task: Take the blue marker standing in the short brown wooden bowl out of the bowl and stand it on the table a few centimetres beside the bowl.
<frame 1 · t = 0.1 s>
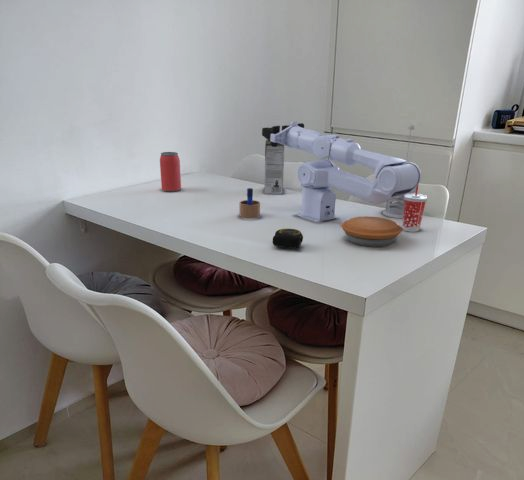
hand: (272, 130, 161), 22 cm above the table, tool horizontal, fingers open, 7 cm apart
tape measure: (288, 248, 133), on the table
beer can: (171, 190, 185), on the table
french press: (395, 214, 163), on the table
brown wooden bowl: (249, 217, 157), on the table, touching marker
marker: (249, 215, 156), resting on brown wooden bowl
coffee box: (273, 191, 187), on the table
pie: (370, 241, 139), on the table
beverage cup: (410, 230, 149), on the table
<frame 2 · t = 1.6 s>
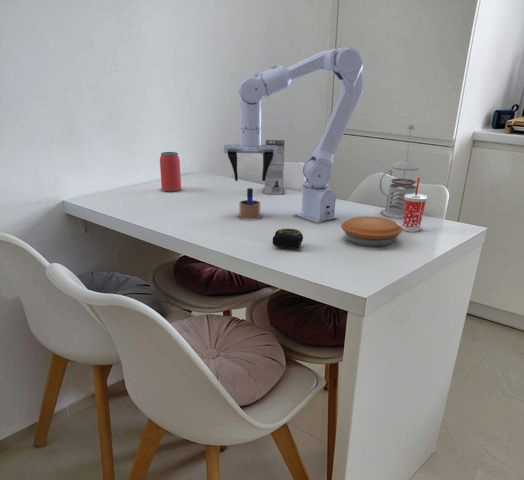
hand: (250, 180, 152), 10 cm above the table, tool pointing down, fingers open, 7 cm apart
nothing on the table moved.
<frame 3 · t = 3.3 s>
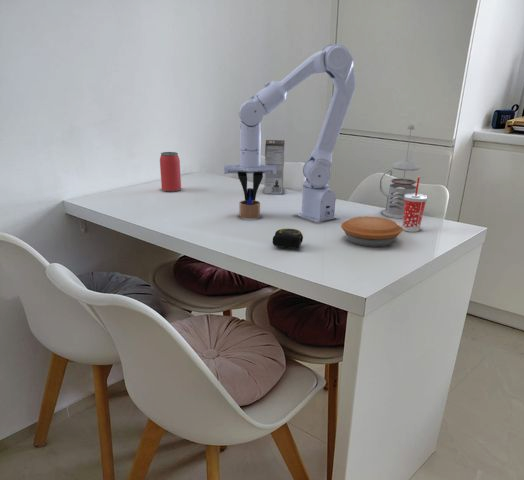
hand: (249, 199, 154), 5 cm above the table, tool pointing down, fingers closed on marker, 1 cm apart
marker: (249, 215, 156), resting on brown wooden bowl, touching gripper
everything else where it was.
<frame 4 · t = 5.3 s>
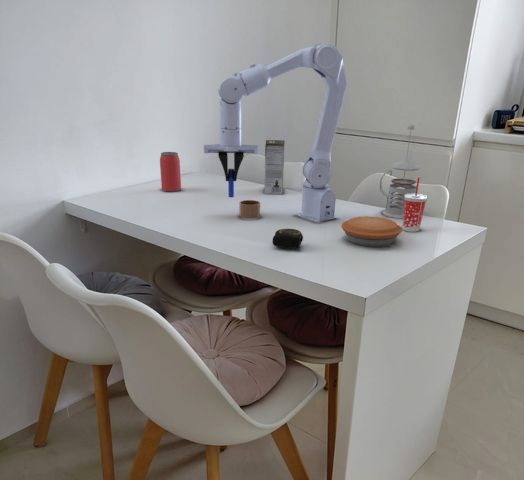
hand: (230, 180, 151), 10 cm above the table, tool pointing down, fingers closed on marker
brown wooden bowl: (249, 217, 157), on the table
marker: (231, 196, 153), point 6 cm above the table, touching gripper
everything else where it was.
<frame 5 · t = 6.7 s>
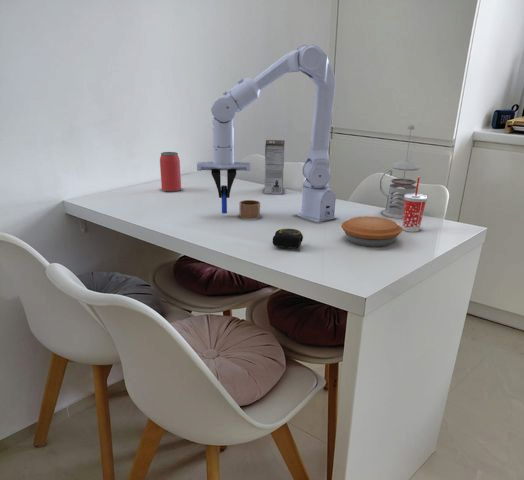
hand: (224, 197, 152), 6 cm above the table, tool pointing down, fingers closed on marker, 1 cm apart
marker: (224, 213, 155), point 1 cm above the table, touching gripper
everything else where it was.
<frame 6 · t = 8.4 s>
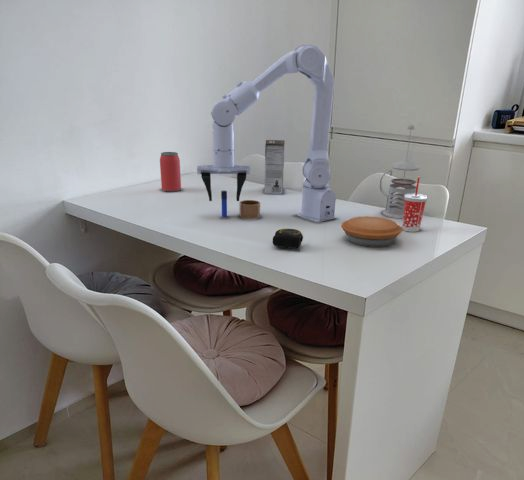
hand: (224, 200, 153), 5 cm above the table, tool pointing down, fingers open, 7 cm apart
marker: (224, 218, 155), on the table
everything else where it was.
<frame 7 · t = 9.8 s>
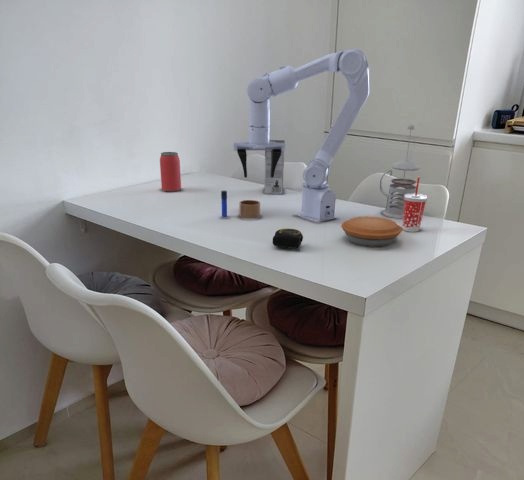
hand: (258, 176, 156), 10 cm above the table, tool pointing down, fingers open, 7 cm apart
nothing on the table moved.
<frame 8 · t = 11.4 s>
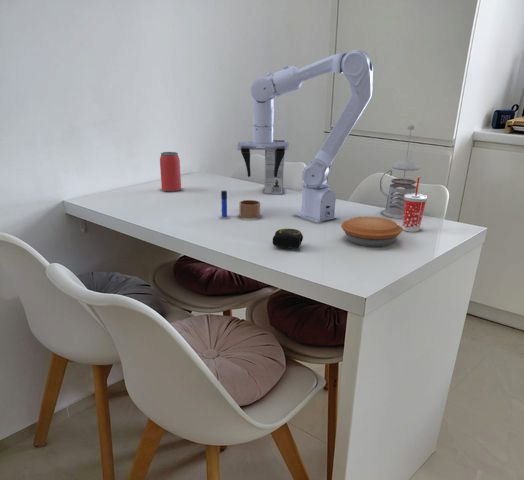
hand: (262, 176, 157), 10 cm above the table, tool pointing down, fingers open, 7 cm apart
nothing on the table moved.
at the end: marker inside the target area (0.0 cm from its centre), on the table; the gripper is holding nothing; brown wooden bowl tilted 0° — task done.
